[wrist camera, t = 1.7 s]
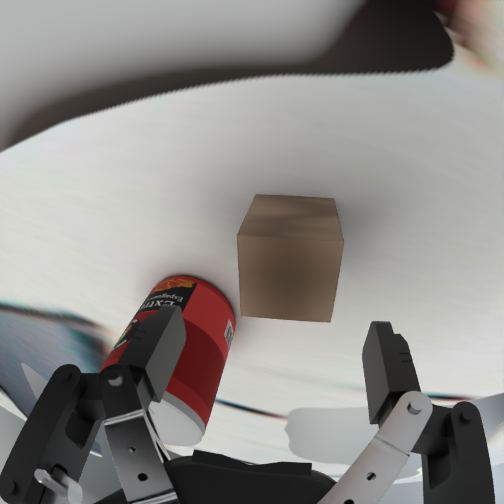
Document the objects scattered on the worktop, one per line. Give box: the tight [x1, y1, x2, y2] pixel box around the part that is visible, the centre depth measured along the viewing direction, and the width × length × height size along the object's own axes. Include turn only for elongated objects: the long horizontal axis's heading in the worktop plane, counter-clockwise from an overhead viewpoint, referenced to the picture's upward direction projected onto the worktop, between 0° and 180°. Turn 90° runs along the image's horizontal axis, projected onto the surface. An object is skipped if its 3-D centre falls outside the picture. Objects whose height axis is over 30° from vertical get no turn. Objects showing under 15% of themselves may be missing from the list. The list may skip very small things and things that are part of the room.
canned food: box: [99, 276, 235, 446], centre depth 21 cm, size 8×8×11 cm
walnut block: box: [237, 194, 344, 323], centre depth 18 cm, size 5×5×6 cm
